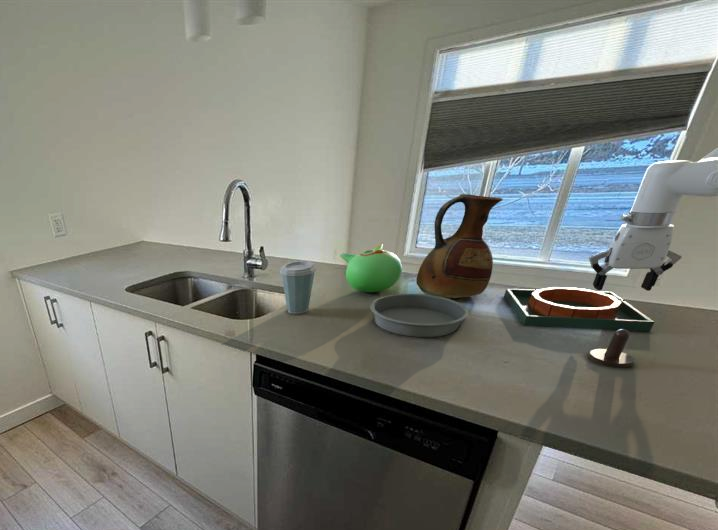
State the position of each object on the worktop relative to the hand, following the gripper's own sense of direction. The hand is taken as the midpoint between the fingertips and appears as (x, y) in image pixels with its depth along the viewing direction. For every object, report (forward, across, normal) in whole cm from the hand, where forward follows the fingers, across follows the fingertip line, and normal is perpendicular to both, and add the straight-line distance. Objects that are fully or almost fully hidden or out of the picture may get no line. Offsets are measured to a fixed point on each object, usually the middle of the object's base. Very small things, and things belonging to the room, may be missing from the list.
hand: (621, 288), depth 105 cm
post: (+7, -10, -30) cm, 32 cm away
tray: (+7, -9, 0) cm, 11 cm away
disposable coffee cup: (+5, -83, -9) cm, 83 cm away
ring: (+6, -9, 0) cm, 11 cm away
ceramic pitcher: (+6, -37, +12) cm, 40 cm away
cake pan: (+6, -48, -14) cm, 51 cm away
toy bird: (+6, -61, +14) cm, 63 cm away
